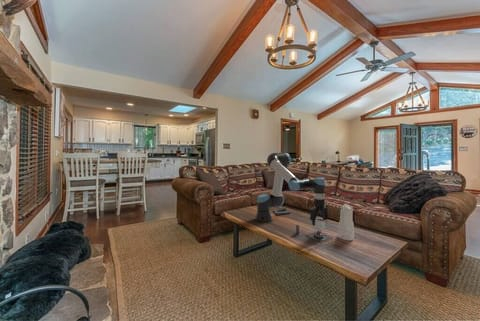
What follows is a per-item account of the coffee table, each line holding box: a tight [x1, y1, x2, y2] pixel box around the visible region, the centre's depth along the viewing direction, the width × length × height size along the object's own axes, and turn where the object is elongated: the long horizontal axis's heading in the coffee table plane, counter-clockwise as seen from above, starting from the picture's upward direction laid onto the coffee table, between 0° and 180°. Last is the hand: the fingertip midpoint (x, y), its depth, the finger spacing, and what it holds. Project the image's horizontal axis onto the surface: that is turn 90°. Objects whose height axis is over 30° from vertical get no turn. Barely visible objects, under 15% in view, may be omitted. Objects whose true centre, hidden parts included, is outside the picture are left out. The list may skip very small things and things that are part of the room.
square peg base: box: [304, 229, 334, 244], centre depth 163 cm, size 14×14×9 cm
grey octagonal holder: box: [315, 217, 326, 231], centre depth 162 cm, size 8×8×6 cm
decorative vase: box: [337, 203, 355, 241], centre depth 163 cm, size 11×11×25 cm
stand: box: [293, 224, 302, 237], centre depth 168 cm, size 6×6×8 cm
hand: (319, 228), depth 162 cm, fingers closed on grey octagonal holder, 8 cm apart
